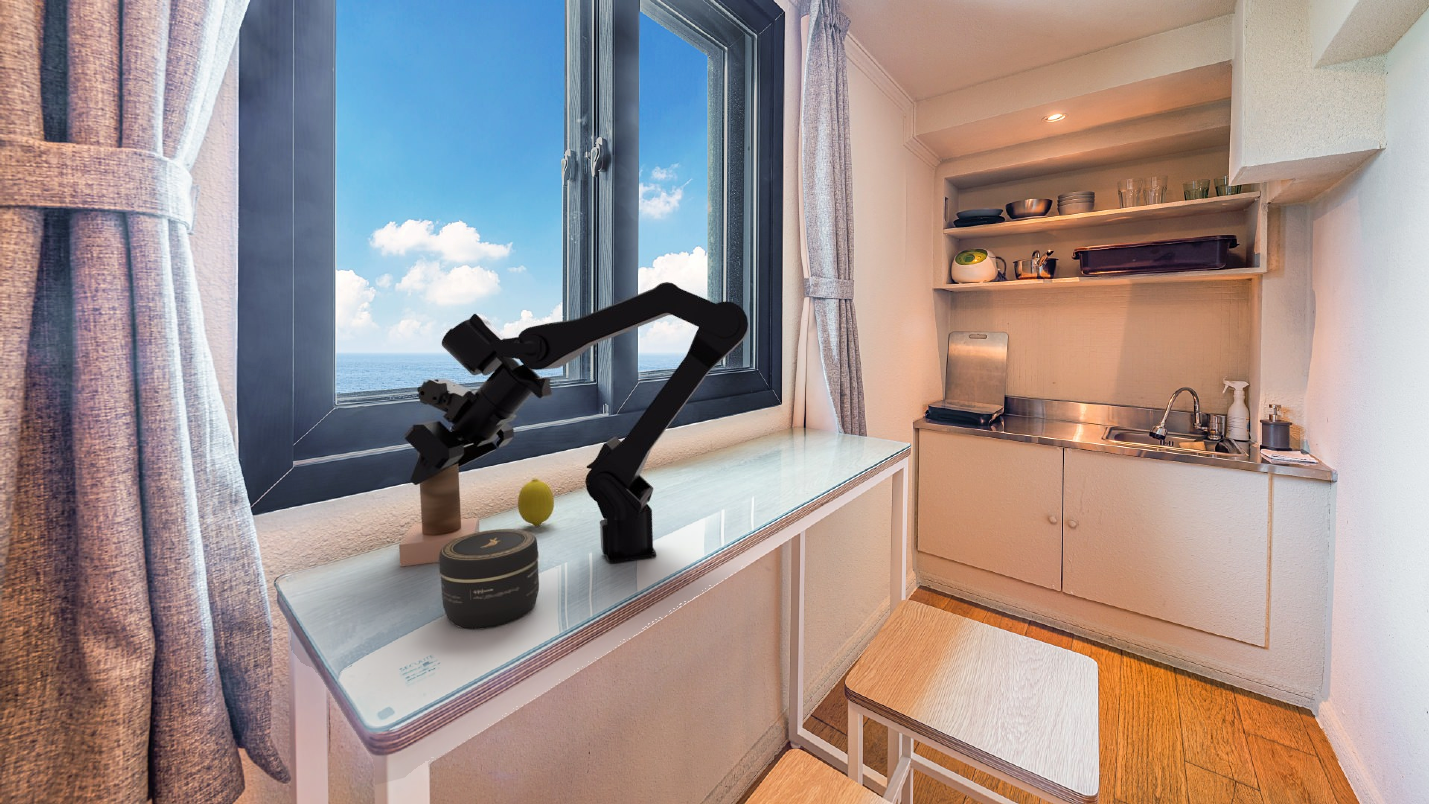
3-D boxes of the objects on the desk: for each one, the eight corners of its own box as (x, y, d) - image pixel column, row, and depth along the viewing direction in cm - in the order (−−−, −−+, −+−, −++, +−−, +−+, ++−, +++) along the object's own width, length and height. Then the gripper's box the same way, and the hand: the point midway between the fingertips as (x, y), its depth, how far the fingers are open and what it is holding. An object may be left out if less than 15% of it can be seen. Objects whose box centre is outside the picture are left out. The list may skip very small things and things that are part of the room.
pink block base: (479, 536, 82) (478, 517, 82) (474, 557, 74) (472, 536, 73) (414, 544, 79) (412, 524, 79) (400, 566, 71) (398, 544, 70)
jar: (539, 584, 65) (536, 523, 64) (543, 622, 55) (539, 551, 55) (448, 598, 61) (444, 534, 61) (436, 641, 52) (431, 566, 51)
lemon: (560, 521, 89) (558, 474, 88) (546, 532, 83) (544, 482, 82) (528, 521, 89) (526, 474, 89) (513, 532, 84) (510, 482, 83)
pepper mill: (466, 523, 79) (461, 422, 78) (453, 533, 74) (447, 425, 73) (431, 525, 78) (426, 423, 78) (415, 535, 73) (410, 426, 73)
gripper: (490, 357, 83) (428, 428, 85) (413, 359, 64) (336, 449, 66) (542, 407, 83) (478, 476, 85) (480, 423, 64) (400, 511, 66)
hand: (428, 476), depth 75 cm, fingers open, 7 cm apart
